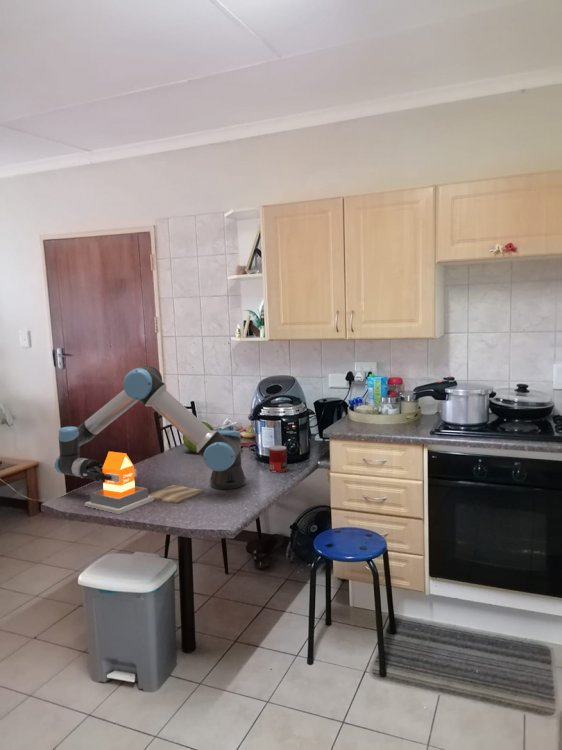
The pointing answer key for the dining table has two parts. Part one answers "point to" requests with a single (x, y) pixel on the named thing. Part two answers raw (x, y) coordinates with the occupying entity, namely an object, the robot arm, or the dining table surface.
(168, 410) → the robot arm
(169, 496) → the oak board
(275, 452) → the canned food
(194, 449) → the lettuce
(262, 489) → the dining table surface
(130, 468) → the orange juice
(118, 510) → the collar holder
